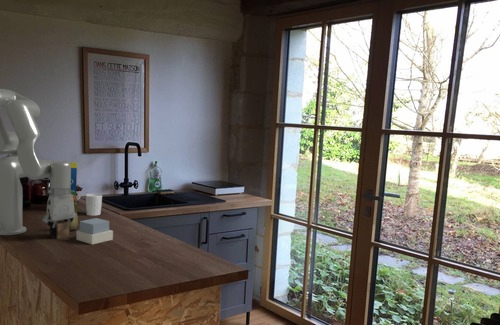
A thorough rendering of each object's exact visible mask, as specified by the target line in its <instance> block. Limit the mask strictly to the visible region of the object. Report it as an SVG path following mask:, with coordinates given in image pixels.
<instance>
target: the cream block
mask: <svg viewBox="0 0 500 325" xmlns="http://www.w3.org/2000/svg"><path fill="white" fill-rule="evenodd" d="M75 237H76V240H77V241H80V242H83V243H86V244H88V245H89V244H90V245H95V244H100V243H104V242H108V241H113V240H114V230H111V229H109V231H106V232H102V233H98V234H89V233H85V232H82V231H80V229H78V230H76V236H75Z"/></svg>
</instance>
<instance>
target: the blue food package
mask: <svg viewBox="0 0 500 325" xmlns="http://www.w3.org/2000/svg"><path fill="white" fill-rule="evenodd" d="M69 163H70V164H71V194H72V195H73V200H74V203H77V177H78V176H77V175H78V170H77V169H78V168H77V167H78V166H77V165H78V162H69Z"/></svg>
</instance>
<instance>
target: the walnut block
mask: <svg viewBox="0 0 500 325" xmlns="http://www.w3.org/2000/svg"><path fill="white" fill-rule="evenodd" d="M55 227H56V228H57V234H56V237H52V236H51V235H50V237H52V238H53V239H57V240H58V239H64V238H68V237H70V231H69V222H66V221H63V220H59V221H57V223H56V226H55Z"/></svg>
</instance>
